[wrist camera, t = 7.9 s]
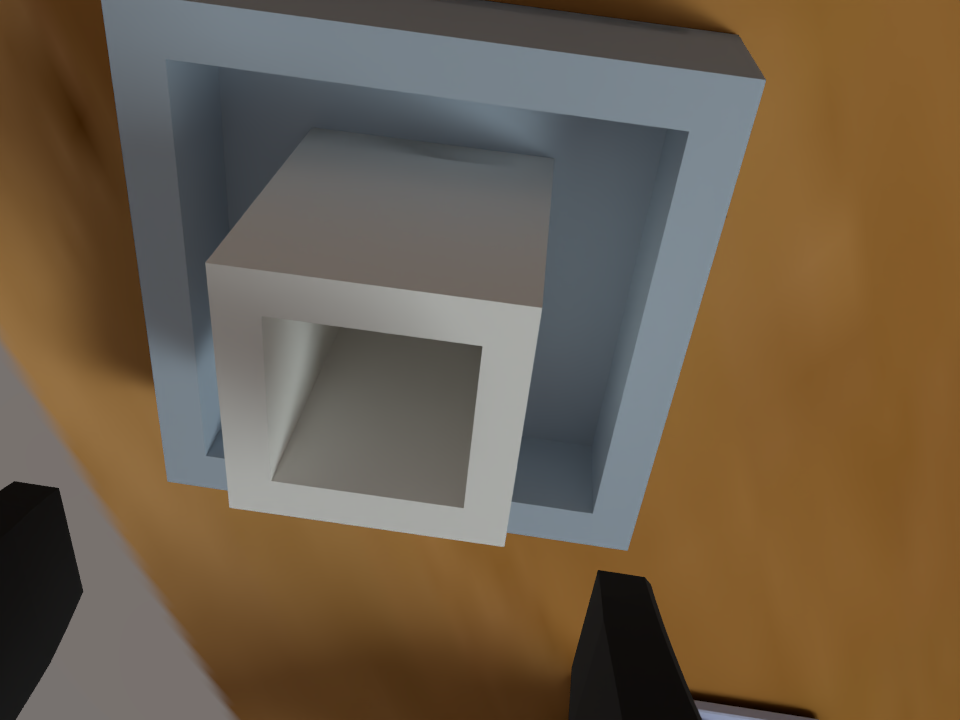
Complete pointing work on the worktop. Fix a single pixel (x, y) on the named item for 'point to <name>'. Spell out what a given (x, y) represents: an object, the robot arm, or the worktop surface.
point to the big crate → (460, 122)
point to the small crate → (382, 334)
